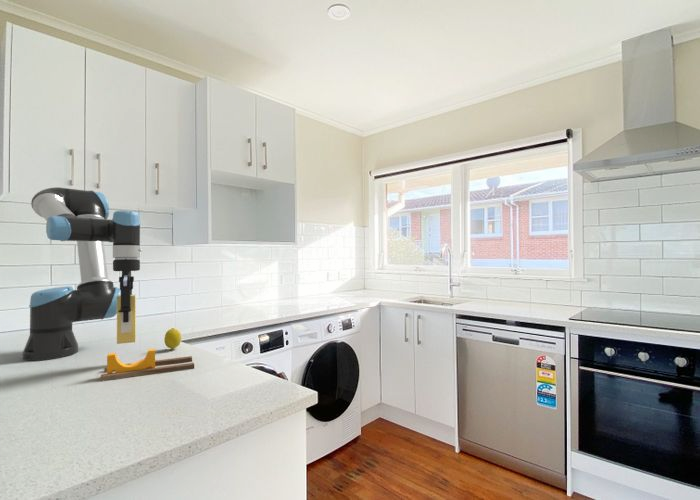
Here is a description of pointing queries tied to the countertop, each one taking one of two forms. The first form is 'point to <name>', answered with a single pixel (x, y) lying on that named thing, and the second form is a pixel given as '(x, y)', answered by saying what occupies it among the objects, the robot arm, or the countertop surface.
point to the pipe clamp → (142, 364)
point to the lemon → (172, 338)
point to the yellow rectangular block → (131, 336)
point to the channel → (152, 370)
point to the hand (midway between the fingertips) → (126, 331)
